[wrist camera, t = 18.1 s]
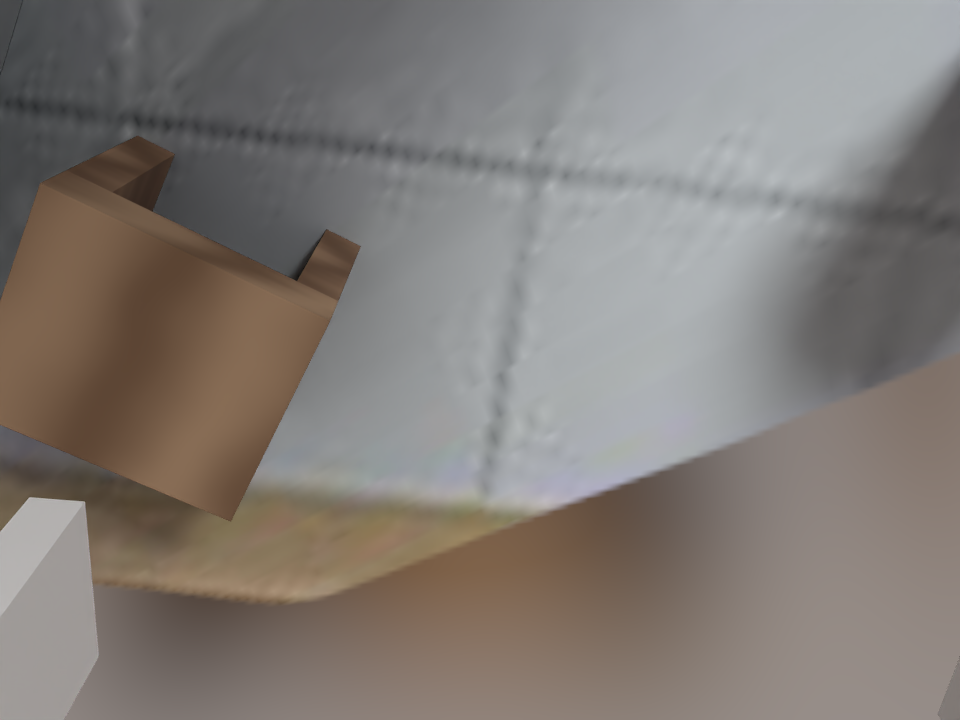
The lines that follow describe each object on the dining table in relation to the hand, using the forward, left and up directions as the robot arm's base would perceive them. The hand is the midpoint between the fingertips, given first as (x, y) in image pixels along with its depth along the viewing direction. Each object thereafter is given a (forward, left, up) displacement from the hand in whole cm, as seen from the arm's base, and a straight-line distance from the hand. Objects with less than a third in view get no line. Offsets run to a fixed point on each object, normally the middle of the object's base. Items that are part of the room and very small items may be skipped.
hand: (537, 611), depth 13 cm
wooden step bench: (+3, -17, -27) cm, 32 cm away
